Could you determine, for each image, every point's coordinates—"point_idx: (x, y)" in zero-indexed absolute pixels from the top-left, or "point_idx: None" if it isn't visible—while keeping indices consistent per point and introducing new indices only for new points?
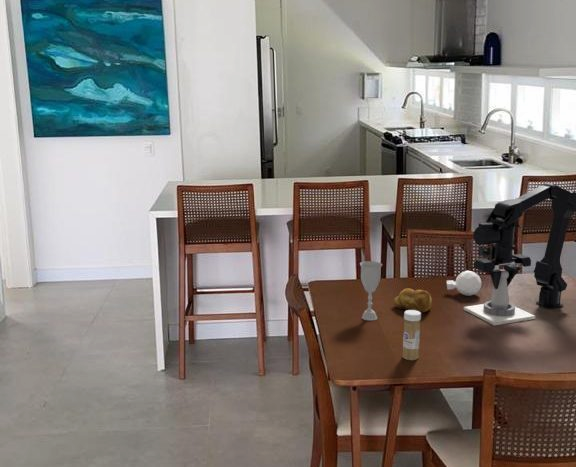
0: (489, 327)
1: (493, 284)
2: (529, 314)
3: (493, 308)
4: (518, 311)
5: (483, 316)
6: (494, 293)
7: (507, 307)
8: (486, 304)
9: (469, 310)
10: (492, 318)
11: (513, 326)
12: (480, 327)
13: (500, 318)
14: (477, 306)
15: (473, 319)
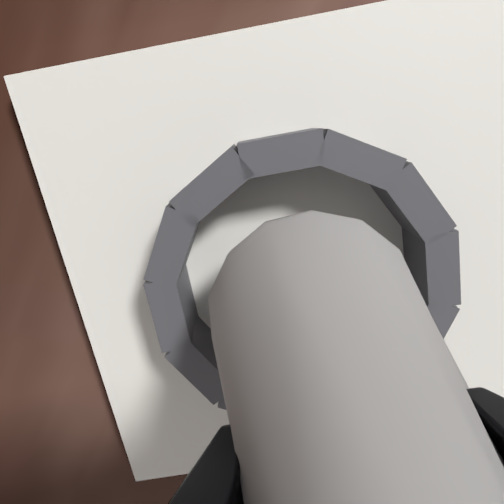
0: (93, 484)
1: (185, 489)
2: (501, 390)
3: (199, 360)
4: (463, 310)
5: (101, 359)
6: (222, 389)
7: (410, 245)
8: (183, 236)
9: (40, 173)
10: (156, 411)
11: None
12: (30, 473)
13: (219, 422)
14: (154, 95)
15: (31, 330)
